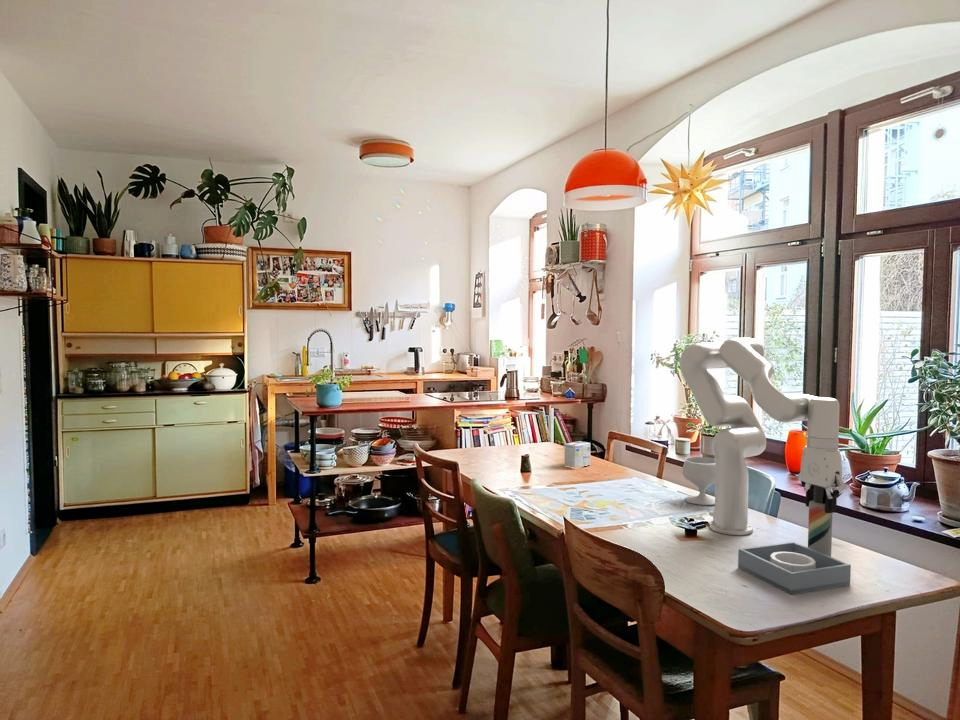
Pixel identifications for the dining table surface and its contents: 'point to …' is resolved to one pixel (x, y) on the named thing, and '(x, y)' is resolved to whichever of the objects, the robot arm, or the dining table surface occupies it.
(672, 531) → the dining table surface
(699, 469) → the chalice
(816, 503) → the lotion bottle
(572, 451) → the light bulb box
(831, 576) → the socket box
